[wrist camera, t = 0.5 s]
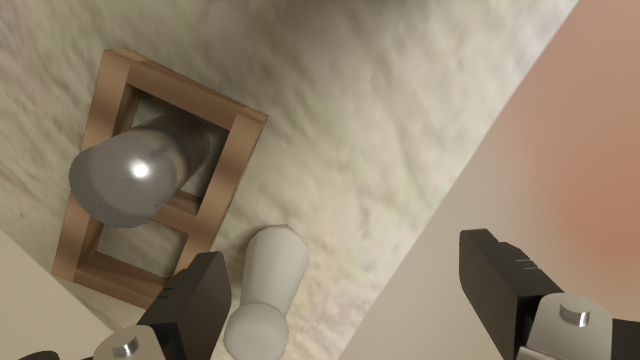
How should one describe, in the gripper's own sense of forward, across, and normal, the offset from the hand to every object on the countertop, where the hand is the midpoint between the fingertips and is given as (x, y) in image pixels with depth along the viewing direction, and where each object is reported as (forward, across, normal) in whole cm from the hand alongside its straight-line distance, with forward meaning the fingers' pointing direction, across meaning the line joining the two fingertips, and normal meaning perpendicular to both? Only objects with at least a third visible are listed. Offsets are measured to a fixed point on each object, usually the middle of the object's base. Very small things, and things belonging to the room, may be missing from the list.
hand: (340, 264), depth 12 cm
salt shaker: (+21, +6, +10) cm, 24 cm away
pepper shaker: (+20, +14, -1) cm, 24 cm away
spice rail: (+20, +16, +3) cm, 26 cm away
